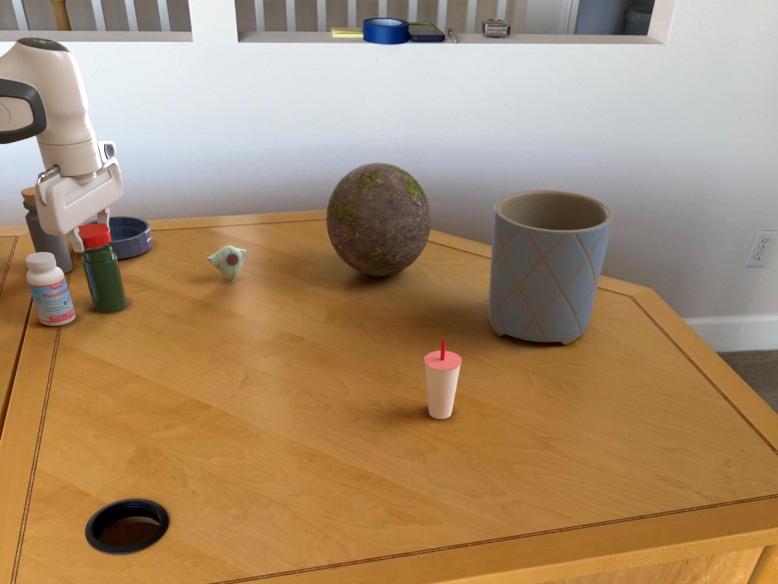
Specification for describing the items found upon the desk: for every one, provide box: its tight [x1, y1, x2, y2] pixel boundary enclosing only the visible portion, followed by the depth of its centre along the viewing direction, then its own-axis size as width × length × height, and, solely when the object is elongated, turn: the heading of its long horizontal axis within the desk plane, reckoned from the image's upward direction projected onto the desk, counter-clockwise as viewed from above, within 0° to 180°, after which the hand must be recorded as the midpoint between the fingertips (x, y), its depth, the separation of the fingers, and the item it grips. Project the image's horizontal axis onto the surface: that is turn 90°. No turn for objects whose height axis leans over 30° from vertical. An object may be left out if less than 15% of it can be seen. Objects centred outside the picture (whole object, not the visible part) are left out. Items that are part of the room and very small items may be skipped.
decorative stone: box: [325, 162, 432, 277], centre depth 147 cm, size 20×20×20 cm
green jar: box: [80, 244, 129, 314], centre depth 138 cm, size 6×6×11 cm
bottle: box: [20, 186, 74, 274], centre depth 147 cm, size 6×6×15 cm
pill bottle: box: [24, 252, 76, 327], centre depth 133 cm, size 6×6×11 cm
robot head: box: [206, 245, 248, 280], centre depth 148 cm, size 8×4×7 cm, turn 121°
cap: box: [78, 223, 112, 248], centre depth 133 cm, size 6×6×2 cm
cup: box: [424, 339, 463, 420], centre depth 112 cm, size 5×5×12 cm
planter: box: [487, 189, 614, 346], centre depth 131 cm, size 19×19×20 cm
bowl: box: [83, 215, 154, 260], centre depth 159 cm, size 14×14×4 cm
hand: (92, 242), depth 133 cm, fingers closed on cap, 6 cm apart
